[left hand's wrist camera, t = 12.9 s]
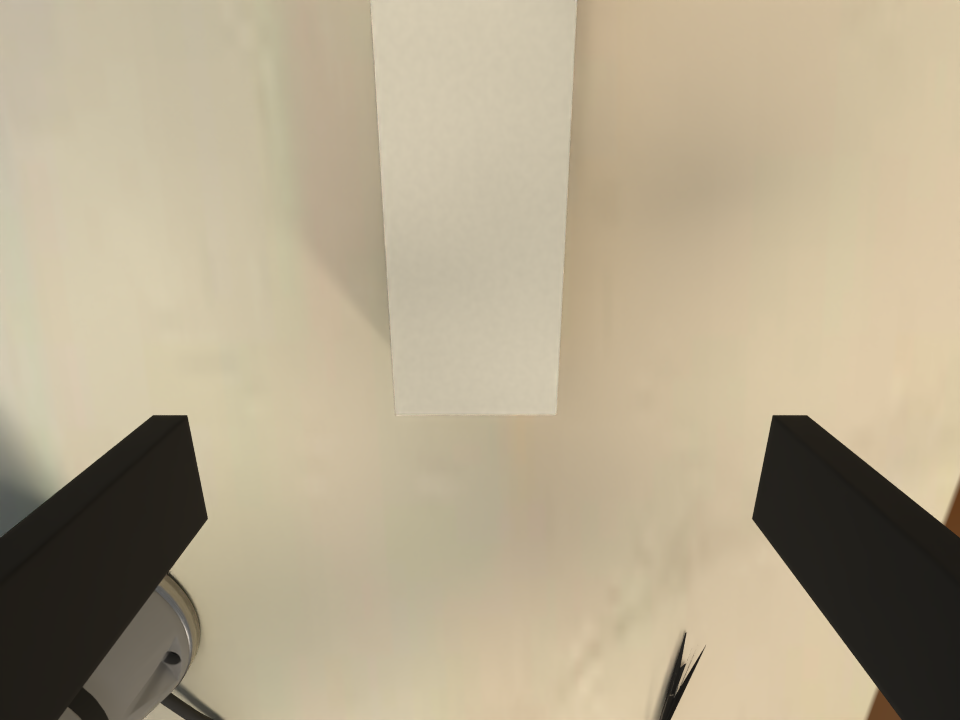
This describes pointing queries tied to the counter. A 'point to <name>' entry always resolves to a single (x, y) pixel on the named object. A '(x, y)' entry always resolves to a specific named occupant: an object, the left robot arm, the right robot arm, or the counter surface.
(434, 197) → the wide beam
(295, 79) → the counter surface
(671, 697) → the feather
